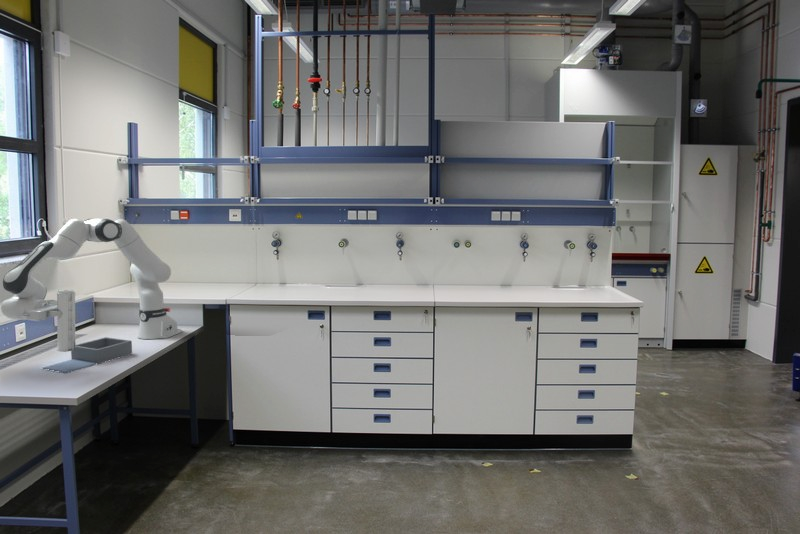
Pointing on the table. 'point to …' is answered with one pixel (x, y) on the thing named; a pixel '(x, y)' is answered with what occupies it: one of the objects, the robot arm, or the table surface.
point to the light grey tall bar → (66, 320)
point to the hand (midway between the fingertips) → (68, 312)
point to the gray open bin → (101, 350)
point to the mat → (69, 366)
